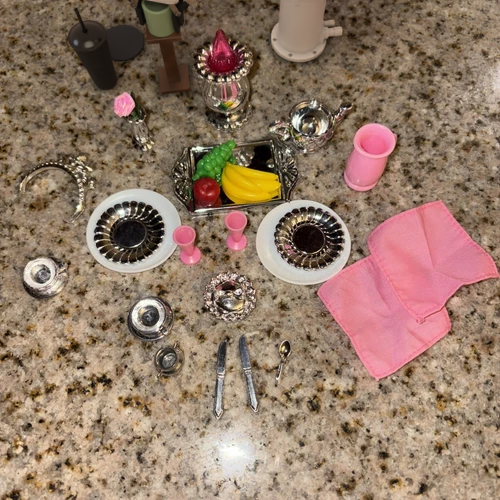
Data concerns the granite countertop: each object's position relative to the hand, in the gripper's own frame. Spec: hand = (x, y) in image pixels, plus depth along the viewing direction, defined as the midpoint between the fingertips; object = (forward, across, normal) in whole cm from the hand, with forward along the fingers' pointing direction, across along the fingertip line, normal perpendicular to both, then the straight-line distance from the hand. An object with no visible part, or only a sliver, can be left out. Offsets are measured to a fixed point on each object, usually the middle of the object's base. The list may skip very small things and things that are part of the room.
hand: (161, 22), depth 93 cm
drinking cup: (+17, +15, +4) cm, 23 cm away
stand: (+17, 0, 0) cm, 17 cm away
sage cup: (+1, 0, 0) cm, 1 cm away
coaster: (+17, +15, -7) cm, 23 cm away
